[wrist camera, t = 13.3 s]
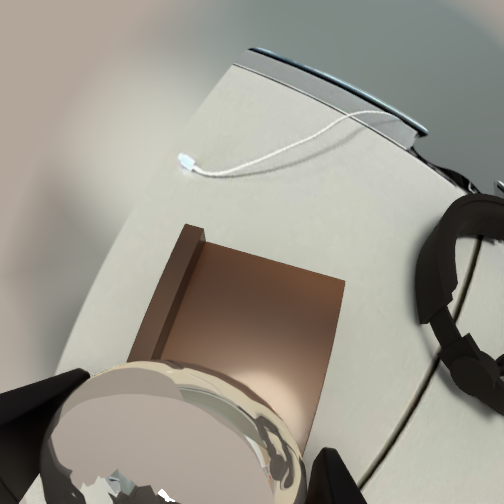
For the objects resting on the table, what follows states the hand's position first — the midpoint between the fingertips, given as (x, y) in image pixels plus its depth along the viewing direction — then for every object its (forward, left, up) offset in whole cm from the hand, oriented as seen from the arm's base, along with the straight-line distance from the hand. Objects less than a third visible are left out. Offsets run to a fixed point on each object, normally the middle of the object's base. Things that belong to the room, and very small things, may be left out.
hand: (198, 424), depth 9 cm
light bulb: (-1, -1, -7) cm, 7 cm away
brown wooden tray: (-1, -1, -11) cm, 11 cm away
